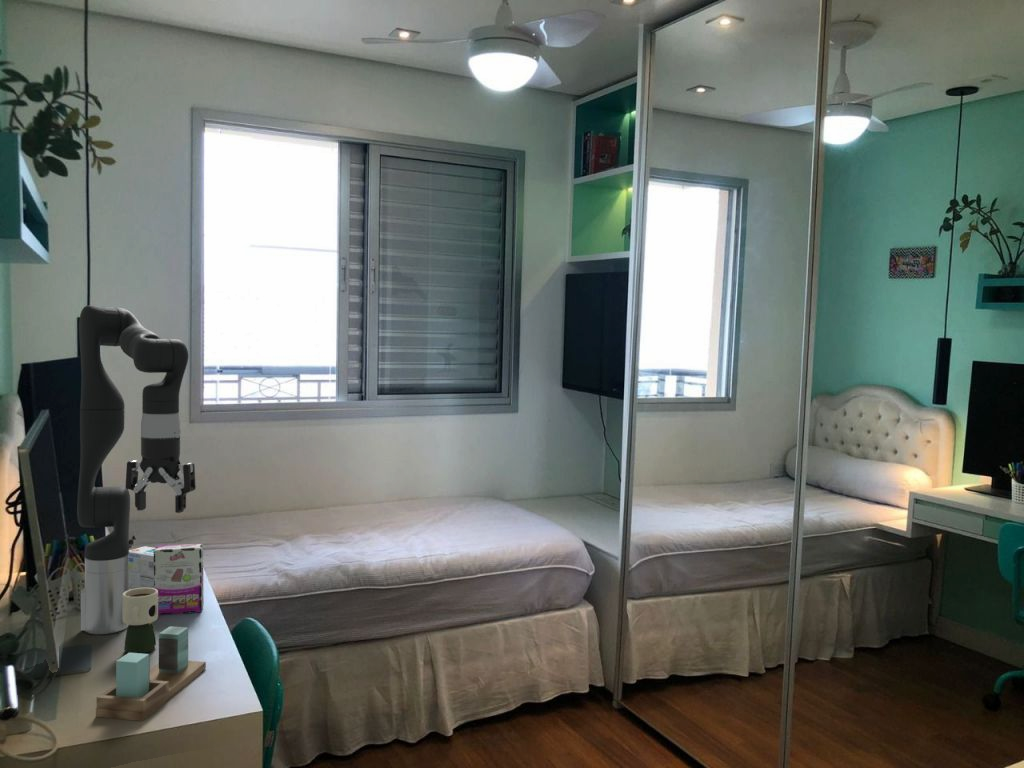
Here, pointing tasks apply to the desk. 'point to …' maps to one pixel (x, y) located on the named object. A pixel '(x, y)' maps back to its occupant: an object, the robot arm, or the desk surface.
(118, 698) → the wooden tray with block
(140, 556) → the light bulb box
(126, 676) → the teal rectangular prism
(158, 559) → the candy bar box
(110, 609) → the robot arm
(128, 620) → the character mug
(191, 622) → the desk surface
